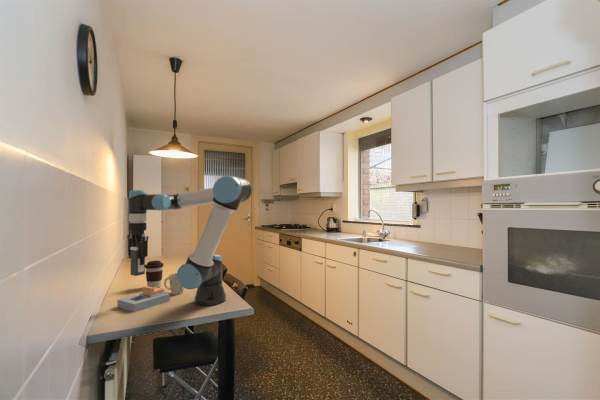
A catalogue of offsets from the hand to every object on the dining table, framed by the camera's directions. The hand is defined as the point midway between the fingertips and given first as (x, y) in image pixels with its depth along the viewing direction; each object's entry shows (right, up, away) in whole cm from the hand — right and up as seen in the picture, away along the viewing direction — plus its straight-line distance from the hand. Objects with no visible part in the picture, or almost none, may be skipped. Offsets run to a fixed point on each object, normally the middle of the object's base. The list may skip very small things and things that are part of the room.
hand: (137, 270), depth 148 cm
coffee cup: (-7, -17, +32) cm, 37 cm away
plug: (0, -2, 0) cm, 2 cm away
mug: (+9, -17, +20) cm, 28 cm away
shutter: (+4, -13, +7) cm, 15 cm away
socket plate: (+2, -17, +2) cm, 17 cm away
